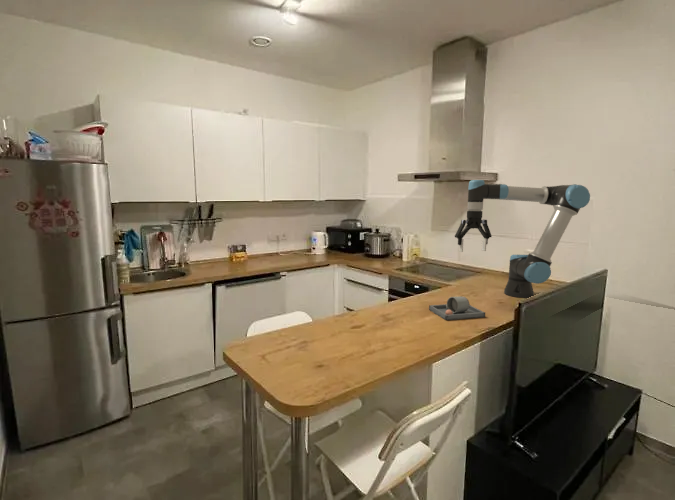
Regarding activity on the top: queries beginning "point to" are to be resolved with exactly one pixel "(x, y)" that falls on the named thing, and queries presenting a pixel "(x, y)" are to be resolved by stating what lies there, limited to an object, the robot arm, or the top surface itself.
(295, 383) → the top surface
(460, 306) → the ceramic mug
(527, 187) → the robot arm
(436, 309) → the tray
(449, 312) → the ball
